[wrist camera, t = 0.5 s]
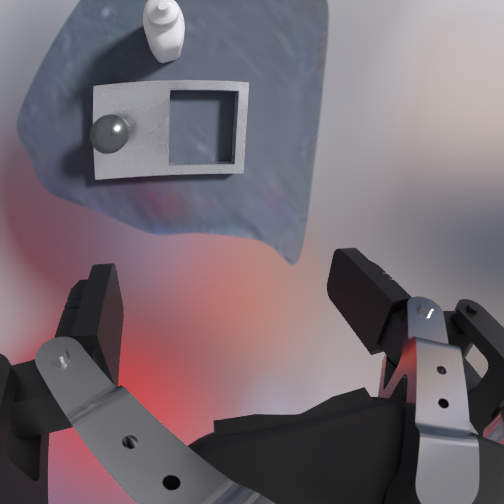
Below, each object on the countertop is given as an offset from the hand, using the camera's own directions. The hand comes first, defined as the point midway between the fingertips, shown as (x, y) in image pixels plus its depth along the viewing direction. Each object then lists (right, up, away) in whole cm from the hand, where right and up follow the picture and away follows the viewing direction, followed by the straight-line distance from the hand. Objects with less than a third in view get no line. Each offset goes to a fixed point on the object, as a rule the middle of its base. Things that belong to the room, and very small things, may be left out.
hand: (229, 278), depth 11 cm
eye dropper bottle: (-8, +23, +15) cm, 29 cm away
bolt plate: (-8, +14, +20) cm, 26 cm away
